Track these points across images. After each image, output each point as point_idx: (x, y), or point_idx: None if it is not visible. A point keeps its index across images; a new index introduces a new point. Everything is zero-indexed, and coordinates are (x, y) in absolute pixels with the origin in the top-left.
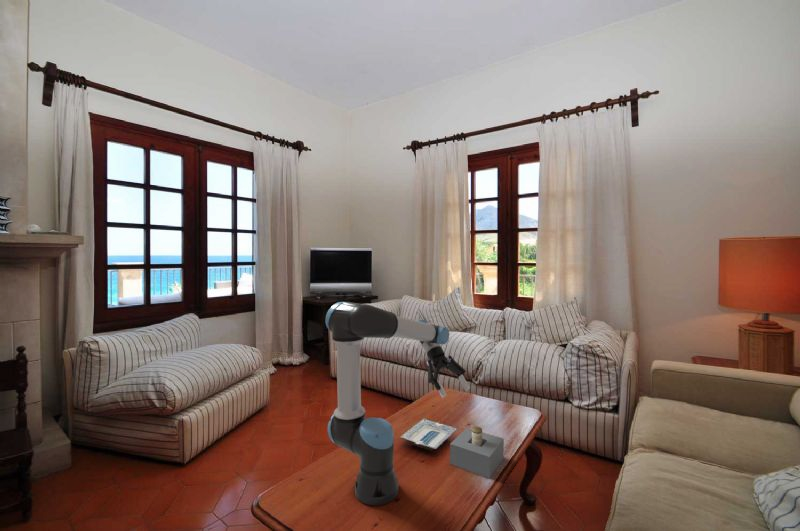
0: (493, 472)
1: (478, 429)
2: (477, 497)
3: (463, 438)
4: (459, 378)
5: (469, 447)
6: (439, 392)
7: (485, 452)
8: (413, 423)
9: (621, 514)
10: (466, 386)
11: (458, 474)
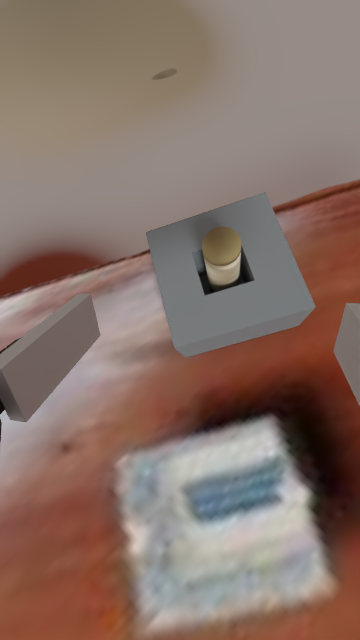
0: None
1: (221, 237)
2: (335, 204)
3: (245, 303)
4: (33, 401)
5: (274, 254)
6: None
7: (255, 211)
8: (210, 637)
9: (161, 77)
10: (82, 317)
11: (310, 282)
